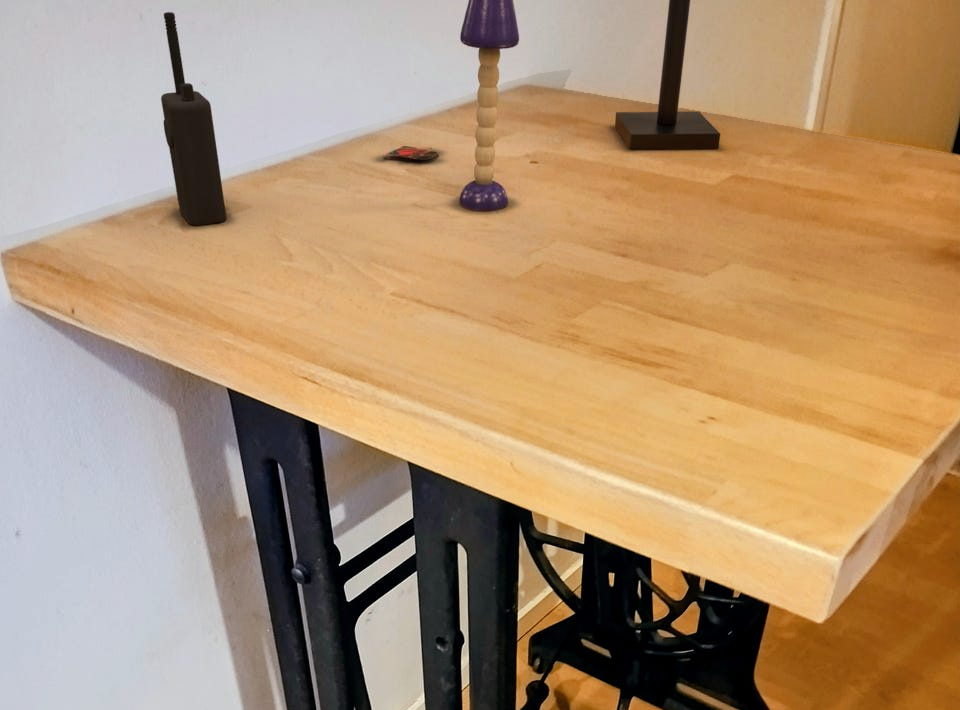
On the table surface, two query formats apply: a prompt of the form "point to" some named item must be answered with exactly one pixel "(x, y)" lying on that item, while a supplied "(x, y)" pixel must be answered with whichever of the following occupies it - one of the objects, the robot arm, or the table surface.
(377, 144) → the table surface
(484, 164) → the toy lamp
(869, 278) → the table surface
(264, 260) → the table surface
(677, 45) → the stand
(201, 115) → the walkie-talkie
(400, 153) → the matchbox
